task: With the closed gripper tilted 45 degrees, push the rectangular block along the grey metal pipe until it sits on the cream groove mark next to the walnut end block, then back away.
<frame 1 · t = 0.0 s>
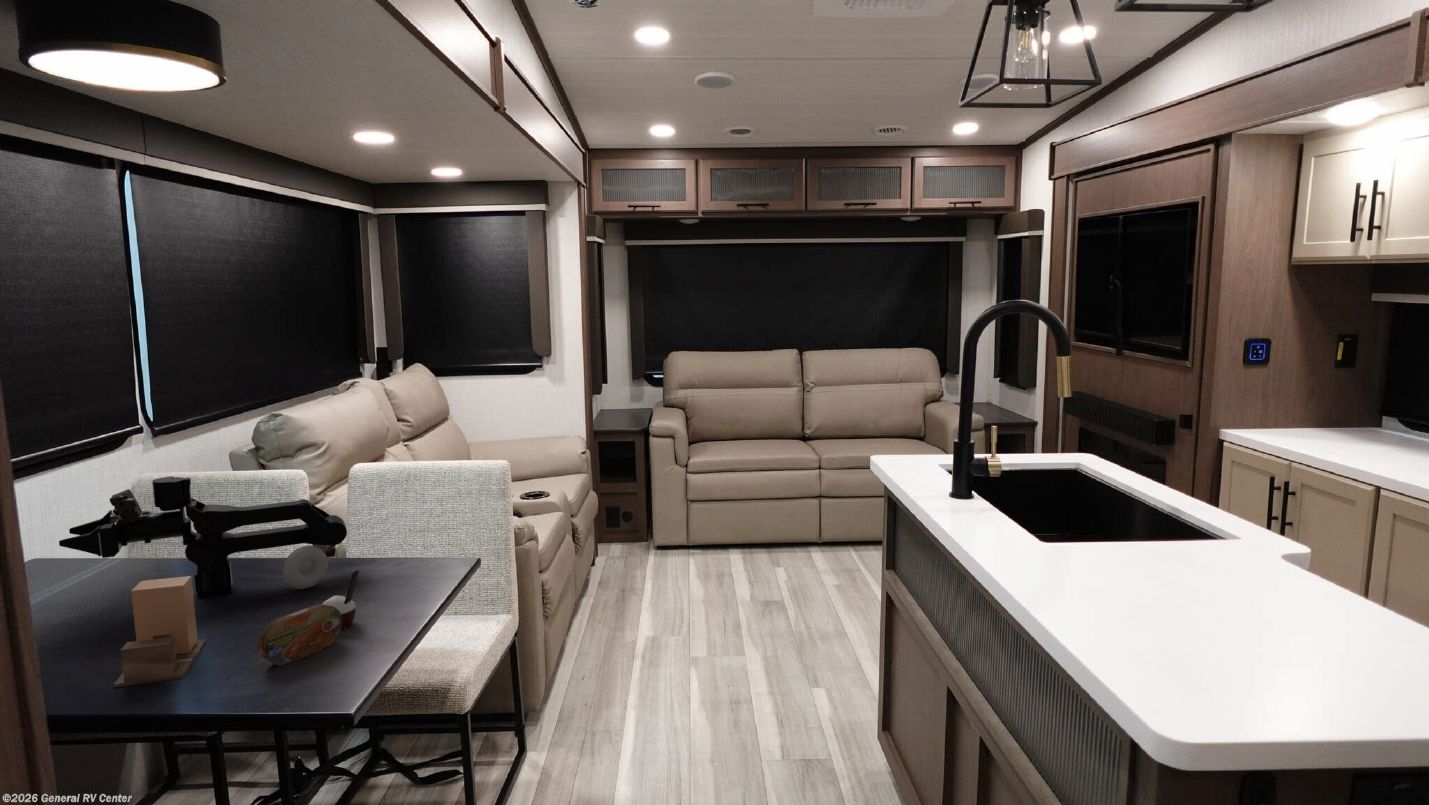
hand: (64, 537, 160), 17 cm above the table, tool horizontal, fingers open, 9 cm apart
rectangular block: (165, 616, 143), point 7 cm above the table, slide at 0.0 cm
tin: (303, 655, 145), on the table
pipe stand: (163, 663, 141), on the table
pipe: (161, 644, 141), point 4 cm above the table
donut: (307, 589, 177), on the table
cocoa: (340, 627, 157), on the table
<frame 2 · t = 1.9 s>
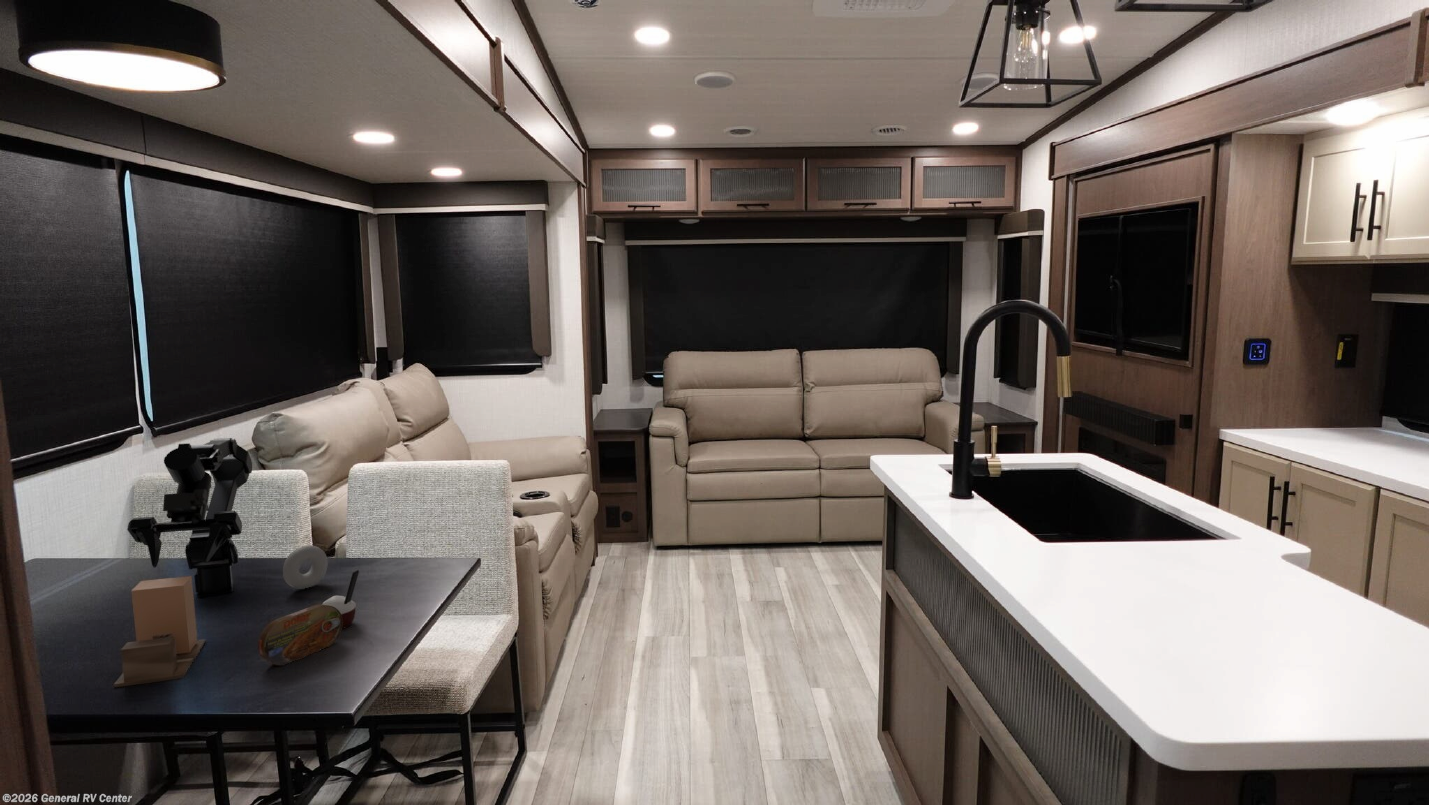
hand: (179, 564, 153), 14 cm above the table, tool tilted 45°, fingers open, 8 cm apart
nothing on the table moved.
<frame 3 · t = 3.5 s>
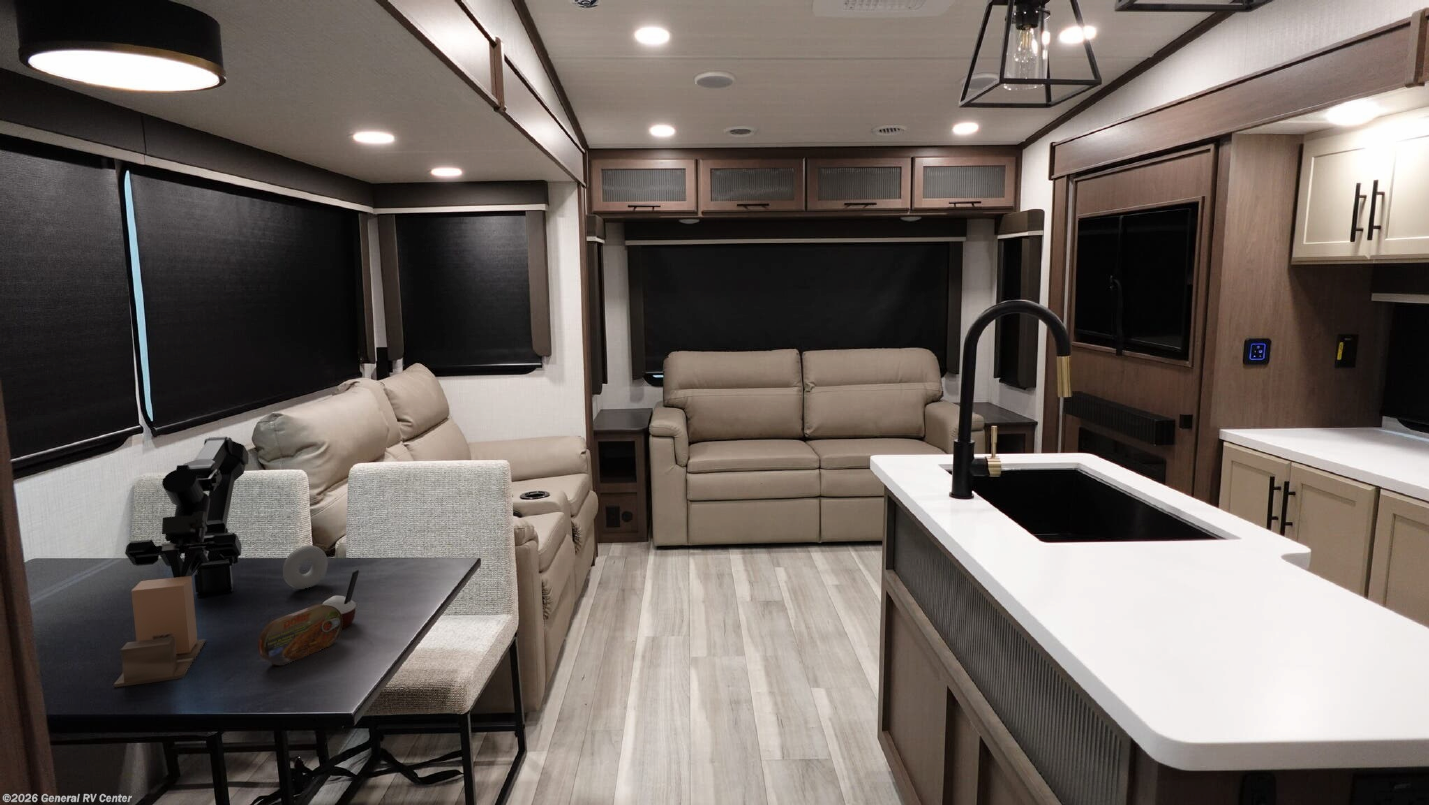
hand: (179, 588, 151), 10 cm above the table, tool tilted 45°, fingers closed
nothing on the table moved.
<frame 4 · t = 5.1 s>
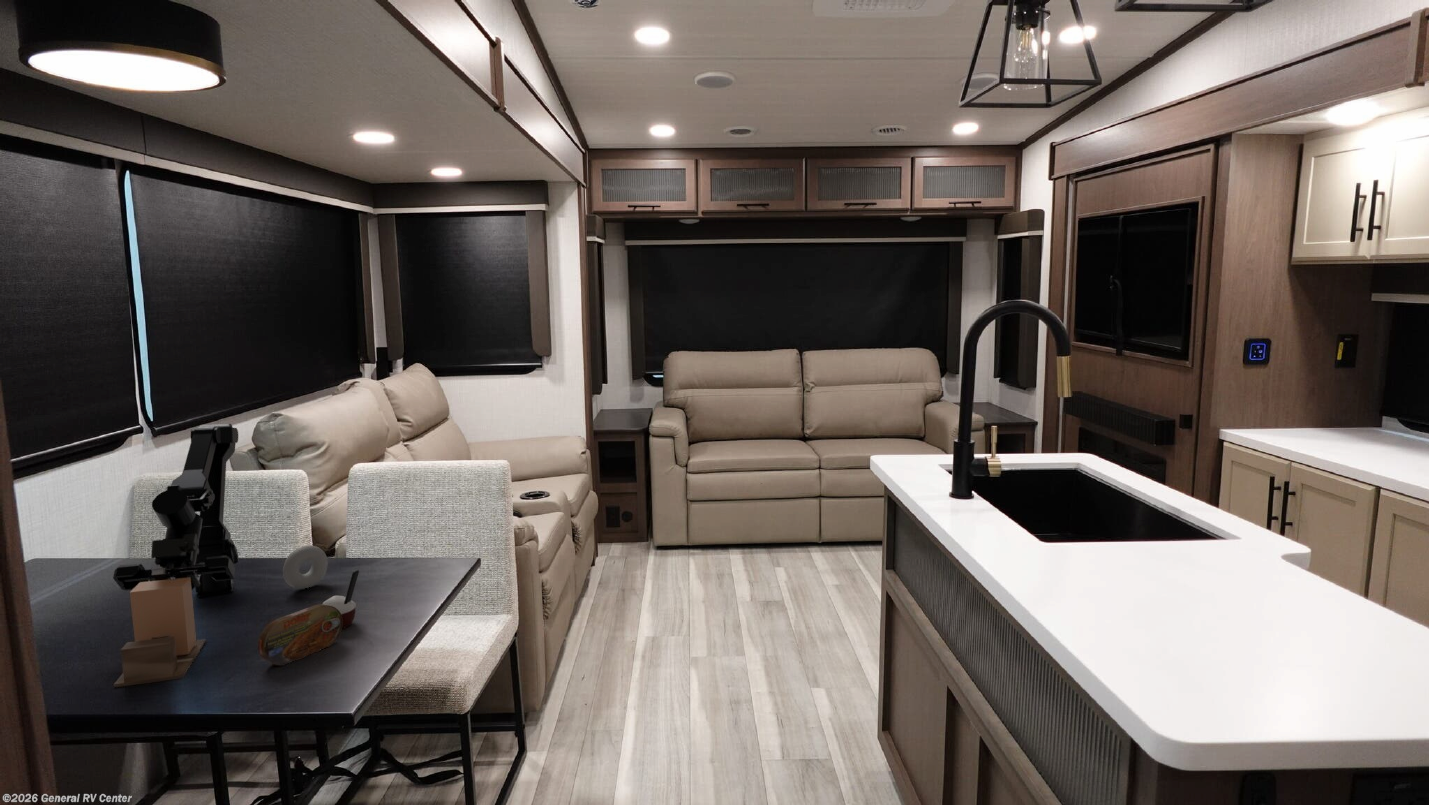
hand: (169, 614, 145), 7 cm above the table, tool tilted 45°, fingers closed, pressing on rectangular block
rectangular block: (164, 618, 142), point 7 cm above the table, slide at 0.7 cm, touching gripper
everything else where it was.
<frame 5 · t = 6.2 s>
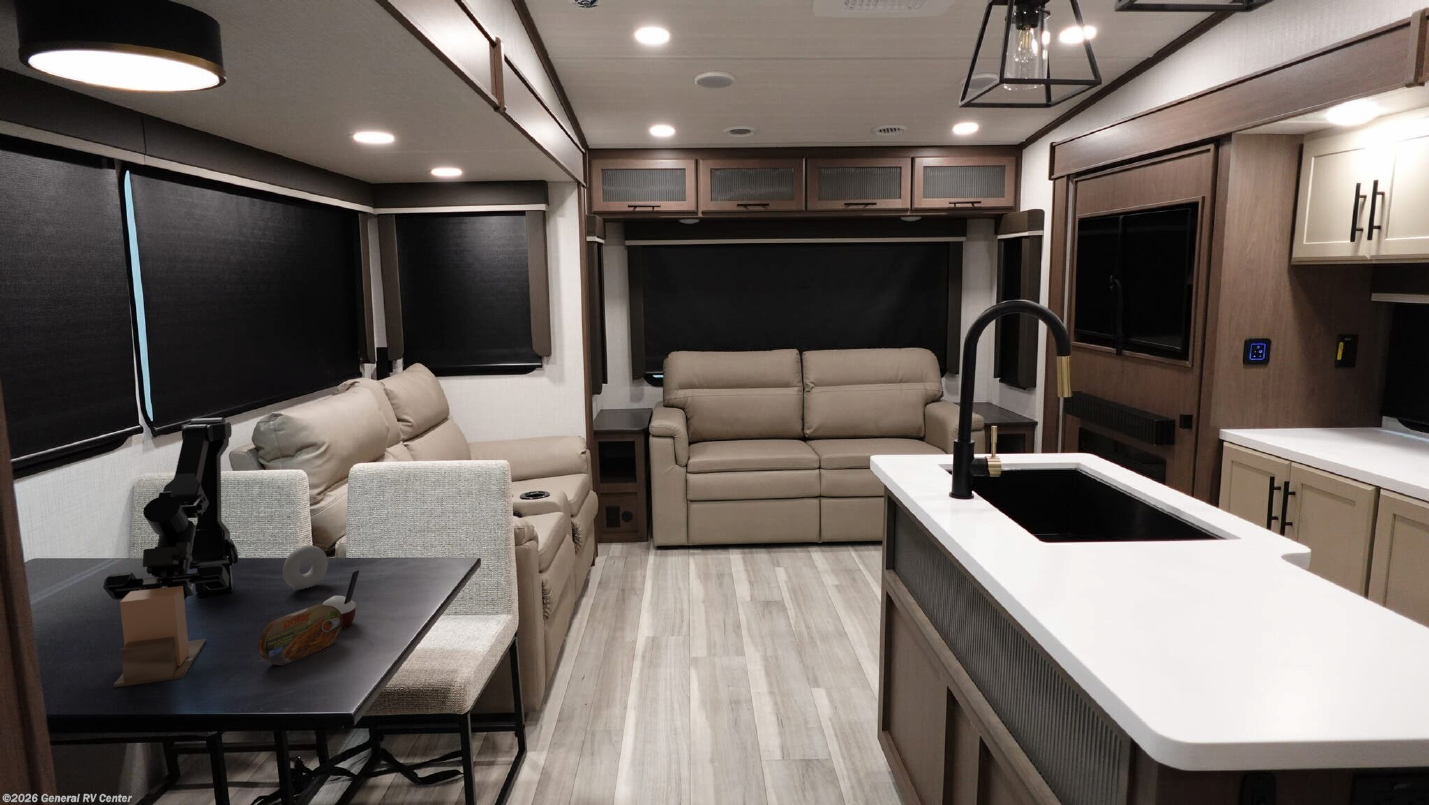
hand: (161, 624, 141), 7 cm above the table, tool tilted 45°, fingers closed, pressing on rectangular block
rectangular block: (155, 628, 138), point 7 cm above the table, slide at 5.3 cm, touching gripper
everything else where it was.
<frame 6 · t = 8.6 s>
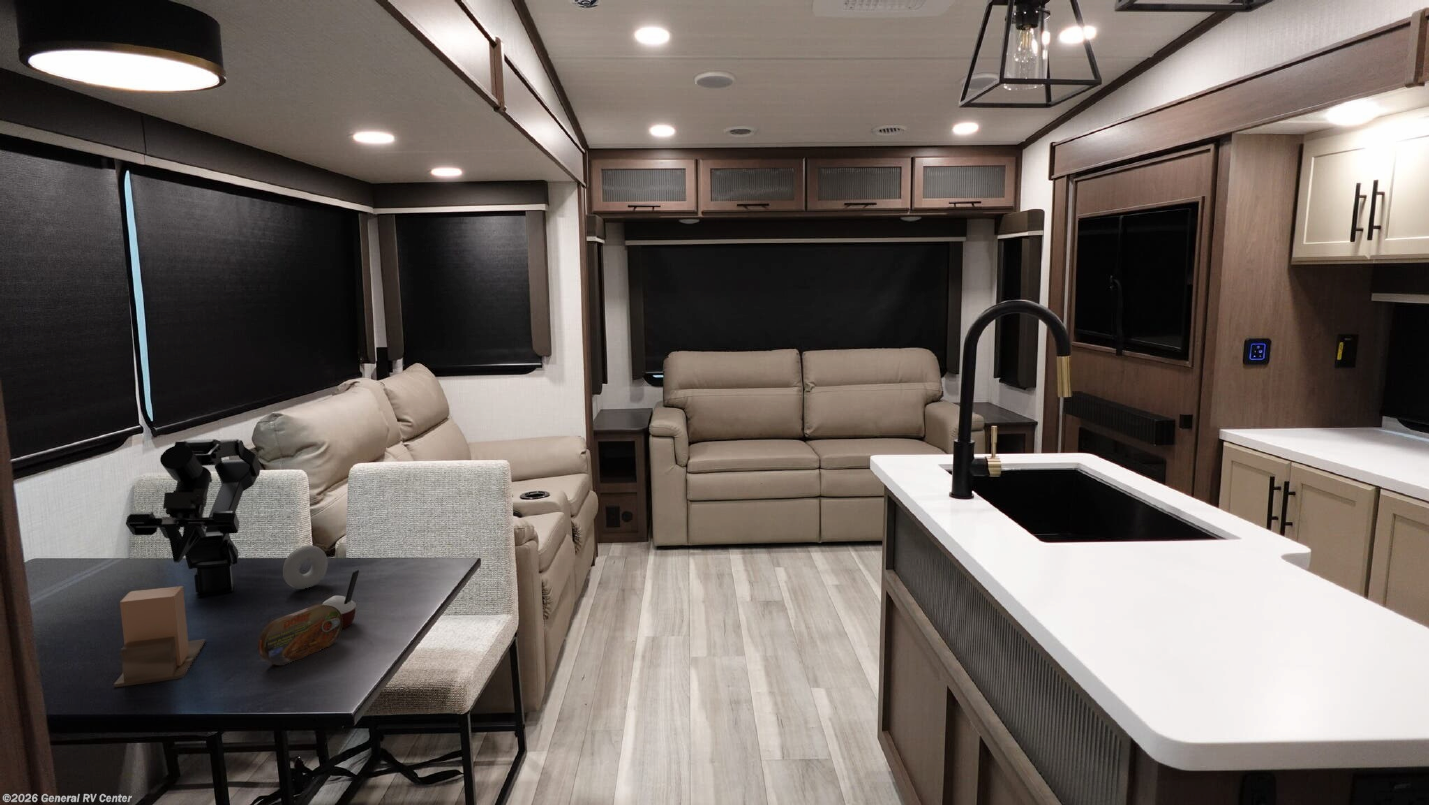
hand: (176, 561, 155), 13 cm above the table, tool tilted 40°, fingers closed
rectangular block: (155, 628, 138), point 7 cm above the table, slide at 5.3 cm
everything else where it was.
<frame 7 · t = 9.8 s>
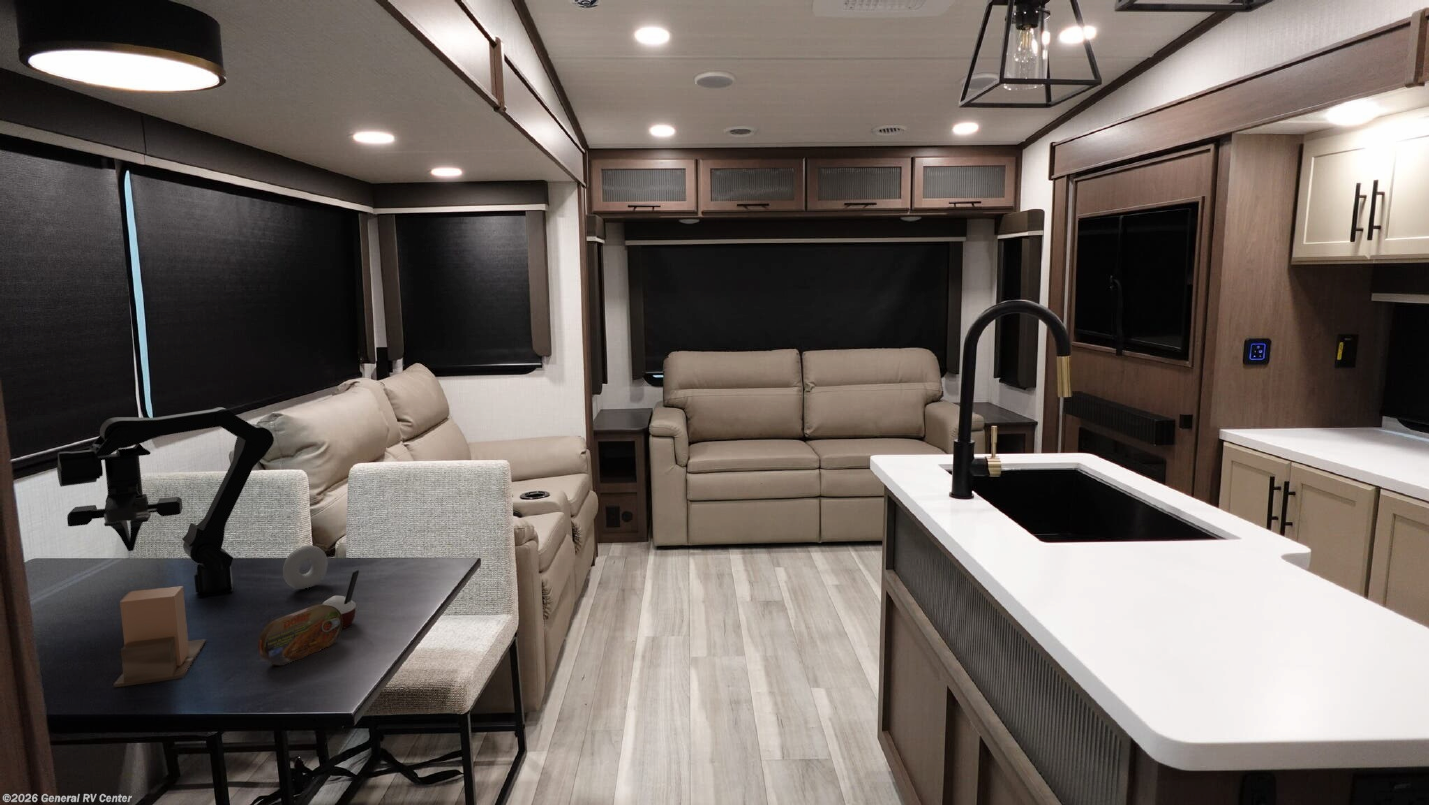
hand: (131, 550, 162), 13 cm above the table, tool pointing down, fingers closed
nothing on the table moved.
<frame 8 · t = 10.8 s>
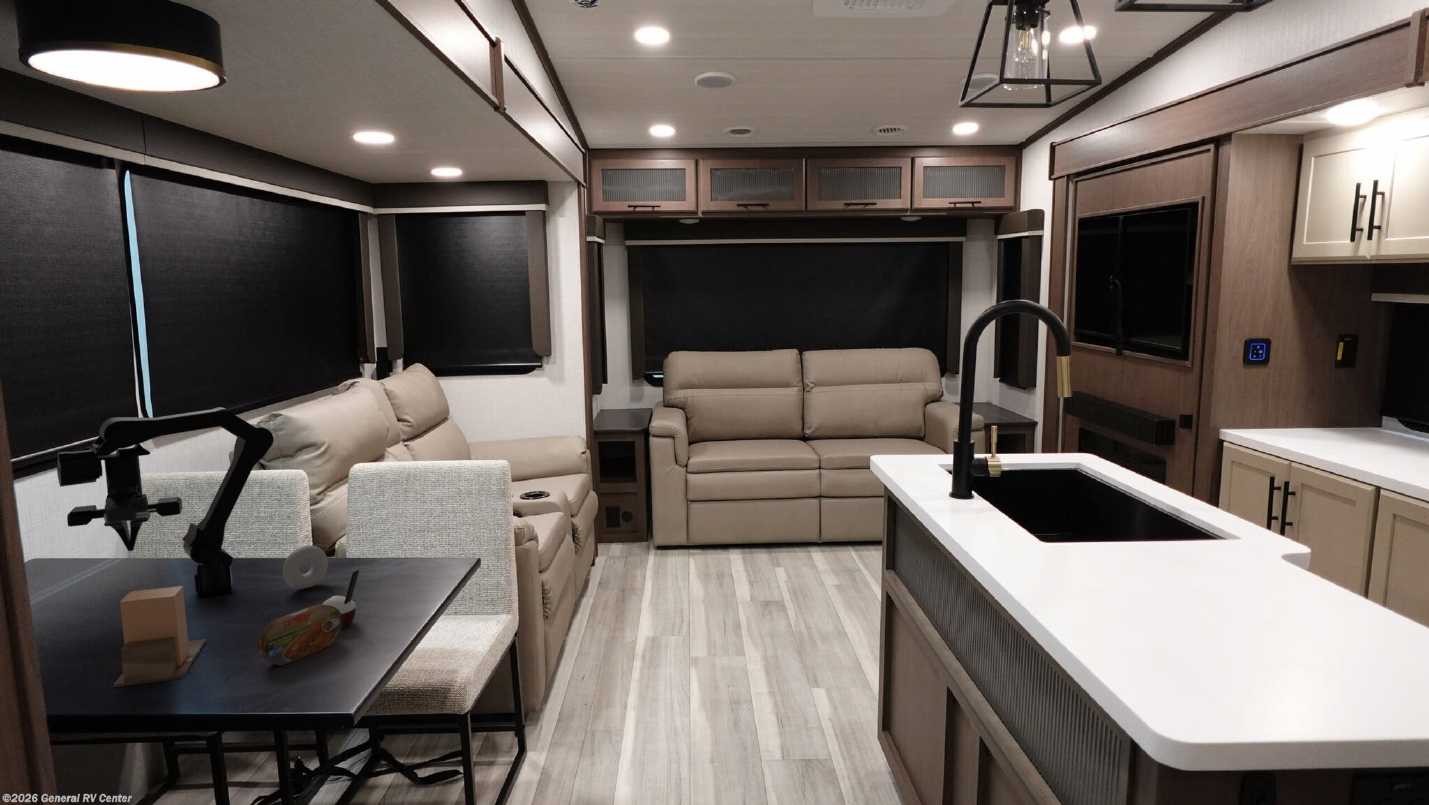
hand: (131, 550, 163), 13 cm above the table, tool pointing down, fingers closed
nothing on the table moved.
at the end: rectangular block slide at 5.3 cm; the gripper is holding nothing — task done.
